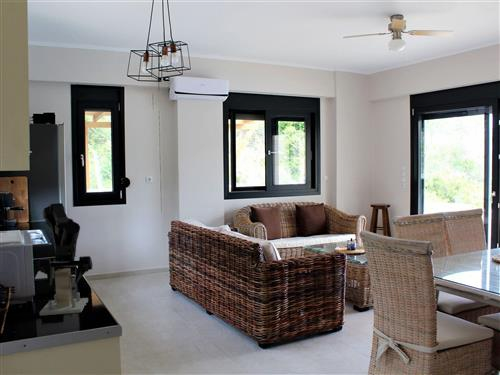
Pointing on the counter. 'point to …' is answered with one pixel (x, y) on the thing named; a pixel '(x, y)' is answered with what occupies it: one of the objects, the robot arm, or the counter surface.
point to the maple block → (63, 287)
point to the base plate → (73, 308)
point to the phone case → (41, 276)
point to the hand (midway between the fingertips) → (62, 284)
